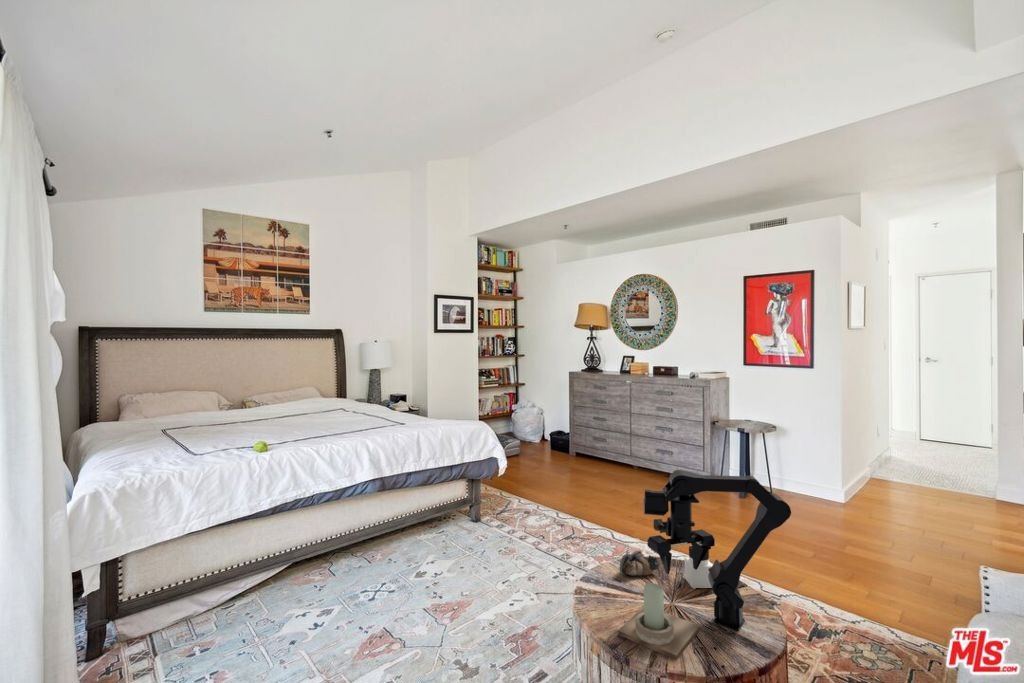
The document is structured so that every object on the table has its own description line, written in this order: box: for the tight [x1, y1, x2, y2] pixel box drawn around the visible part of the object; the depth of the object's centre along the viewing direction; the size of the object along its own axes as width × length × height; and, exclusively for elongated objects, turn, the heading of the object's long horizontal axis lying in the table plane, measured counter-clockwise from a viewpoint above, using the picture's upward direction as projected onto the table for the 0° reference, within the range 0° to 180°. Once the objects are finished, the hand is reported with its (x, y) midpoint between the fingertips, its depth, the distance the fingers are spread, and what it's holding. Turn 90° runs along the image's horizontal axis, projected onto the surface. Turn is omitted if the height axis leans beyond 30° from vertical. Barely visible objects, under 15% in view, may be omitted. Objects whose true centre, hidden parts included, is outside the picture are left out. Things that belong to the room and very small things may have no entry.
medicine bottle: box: [684, 545, 713, 590], centre depth 154 cm, size 7×7×12 cm
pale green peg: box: [643, 582, 665, 631], centre depth 126 cm, size 5×5×12 cm
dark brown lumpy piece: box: [619, 550, 662, 577], centre depth 161 cm, size 12×7×10 cm
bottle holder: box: [617, 605, 701, 661], centre depth 129 cm, size 16×16×4 cm
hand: (681, 571), depth 136 cm, fingers open, 9 cm apart
